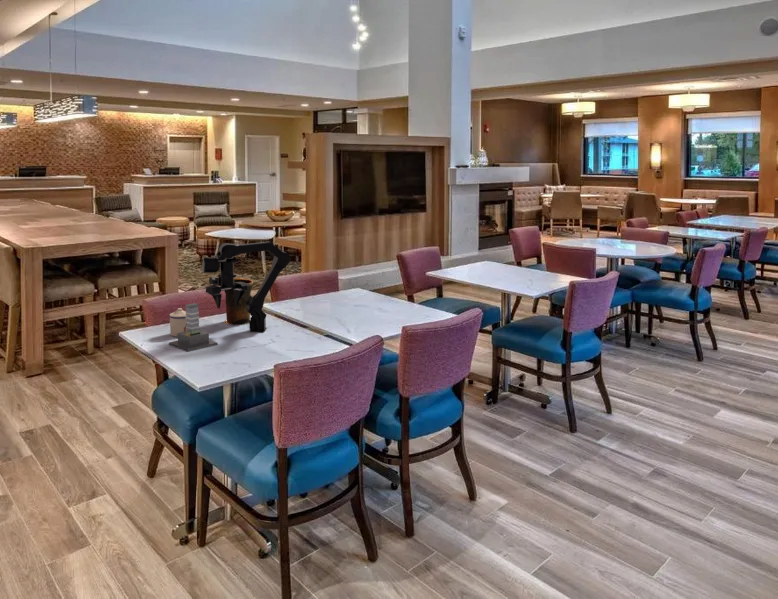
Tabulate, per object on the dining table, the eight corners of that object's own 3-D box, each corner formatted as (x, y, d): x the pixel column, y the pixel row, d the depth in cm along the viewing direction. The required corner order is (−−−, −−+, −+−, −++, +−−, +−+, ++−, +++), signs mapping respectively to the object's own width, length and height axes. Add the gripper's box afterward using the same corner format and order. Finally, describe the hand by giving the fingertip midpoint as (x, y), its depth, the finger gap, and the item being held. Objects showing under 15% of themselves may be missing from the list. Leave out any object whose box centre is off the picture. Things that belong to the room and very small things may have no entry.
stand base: (198, 338, 271) (198, 324, 270) (217, 344, 262) (217, 331, 261) (169, 344, 261) (168, 330, 259) (187, 351, 252) (187, 337, 251)
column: (195, 330, 263) (194, 302, 261) (200, 332, 261) (199, 304, 258) (185, 332, 260) (184, 304, 257) (190, 334, 257) (189, 306, 255)
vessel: (245, 316, 312) (245, 276, 307) (259, 323, 301) (258, 282, 296) (218, 320, 303) (217, 279, 298) (230, 327, 292) (230, 285, 287)
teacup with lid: (188, 337, 273) (187, 311, 270) (167, 336, 272) (165, 310, 270) (196, 330, 284) (195, 305, 282) (176, 329, 284) (174, 304, 282)
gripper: (233, 267, 287) (233, 301, 290) (197, 271, 273) (198, 306, 276) (248, 271, 280) (248, 305, 283) (213, 275, 266) (213, 311, 269)
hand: (227, 307), depth 278 cm, fingers open, 9 cm apart
